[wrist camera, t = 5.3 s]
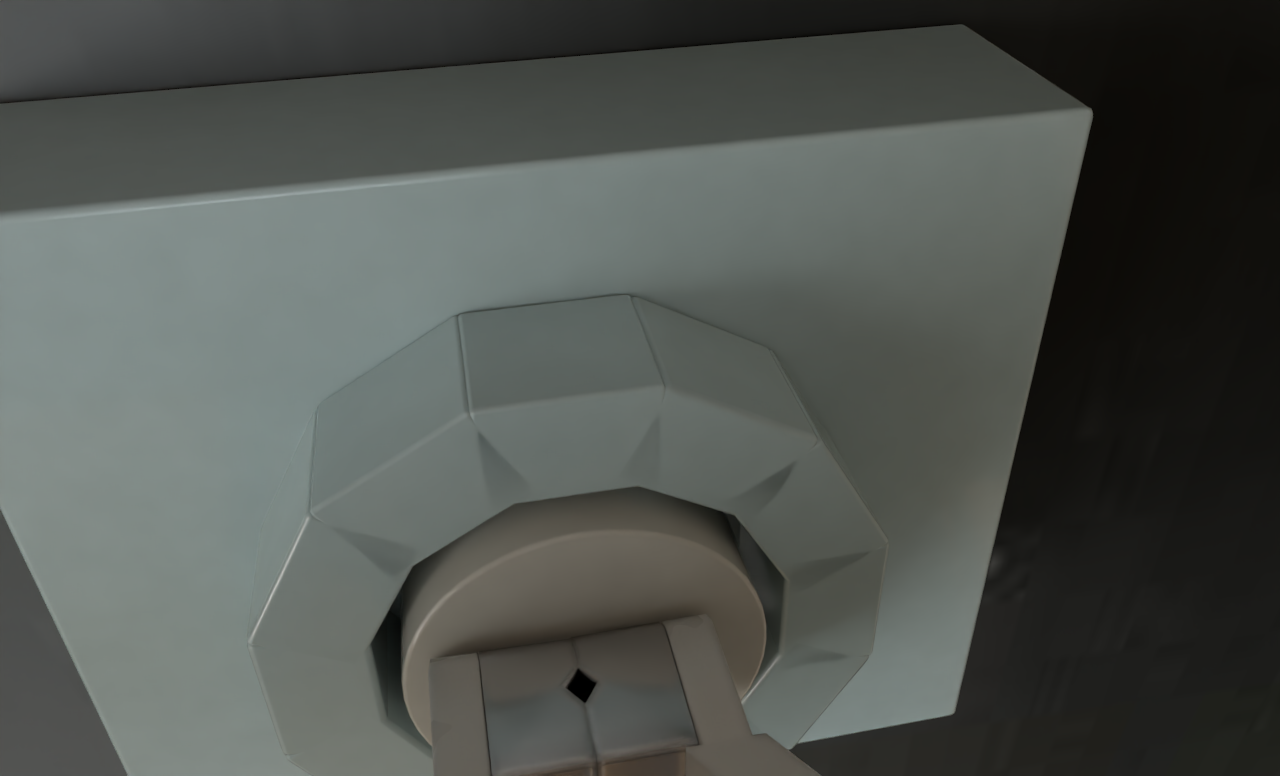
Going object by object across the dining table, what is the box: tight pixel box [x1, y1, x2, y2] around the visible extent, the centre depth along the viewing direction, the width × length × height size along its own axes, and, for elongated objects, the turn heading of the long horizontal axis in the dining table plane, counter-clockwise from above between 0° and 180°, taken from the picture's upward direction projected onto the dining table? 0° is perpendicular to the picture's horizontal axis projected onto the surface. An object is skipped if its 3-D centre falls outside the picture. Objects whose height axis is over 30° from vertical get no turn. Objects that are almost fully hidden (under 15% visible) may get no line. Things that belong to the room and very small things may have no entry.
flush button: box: [399, 486, 767, 746], centre depth 12 cm, size 4×4×2 cm
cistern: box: [0, 24, 1093, 776], centre depth 14 cm, size 12×10×5 cm
